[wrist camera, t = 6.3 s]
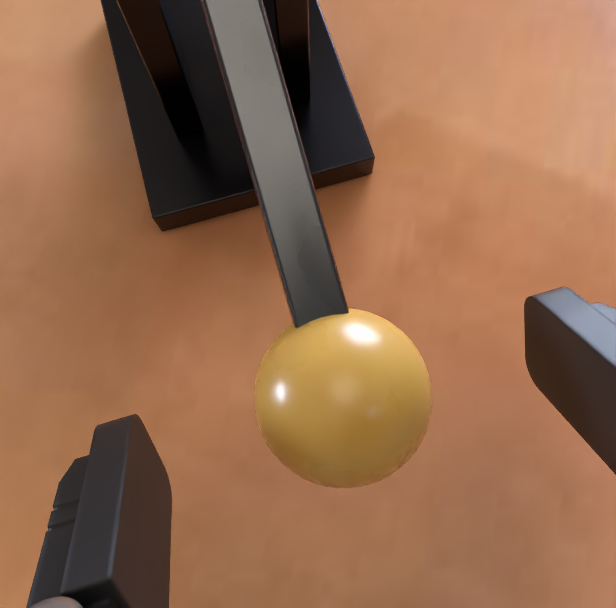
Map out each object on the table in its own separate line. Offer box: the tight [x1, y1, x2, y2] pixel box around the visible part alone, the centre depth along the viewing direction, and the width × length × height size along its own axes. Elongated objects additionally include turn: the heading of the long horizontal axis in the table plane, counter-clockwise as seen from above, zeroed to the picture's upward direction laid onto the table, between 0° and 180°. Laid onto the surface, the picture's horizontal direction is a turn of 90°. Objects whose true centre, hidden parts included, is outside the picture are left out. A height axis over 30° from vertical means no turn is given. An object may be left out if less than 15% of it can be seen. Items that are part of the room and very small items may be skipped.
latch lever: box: [200, 0, 432, 488], centre depth 11 cm, size 17×4×4 cm, turn 17°
